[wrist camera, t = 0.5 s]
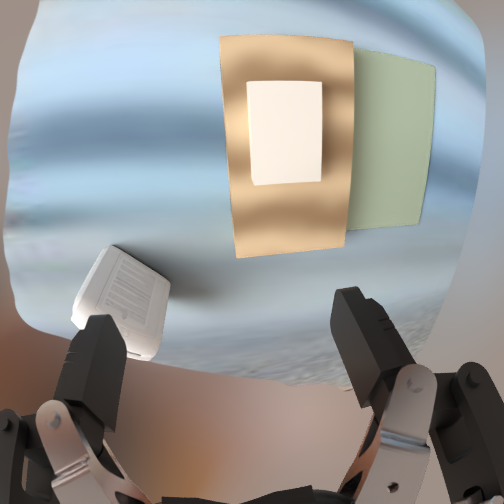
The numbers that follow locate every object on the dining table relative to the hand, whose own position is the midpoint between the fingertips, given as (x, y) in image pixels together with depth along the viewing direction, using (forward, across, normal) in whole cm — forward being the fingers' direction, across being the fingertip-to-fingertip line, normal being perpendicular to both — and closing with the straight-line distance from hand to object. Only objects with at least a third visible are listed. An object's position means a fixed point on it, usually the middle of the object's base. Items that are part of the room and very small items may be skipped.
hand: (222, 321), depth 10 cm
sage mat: (+23, -20, -1) cm, 30 cm away
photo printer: (+22, +12, +13) cm, 29 cm away
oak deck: (+23, -7, -1) cm, 24 cm away
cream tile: (+19, -6, -3) cm, 20 cm away
